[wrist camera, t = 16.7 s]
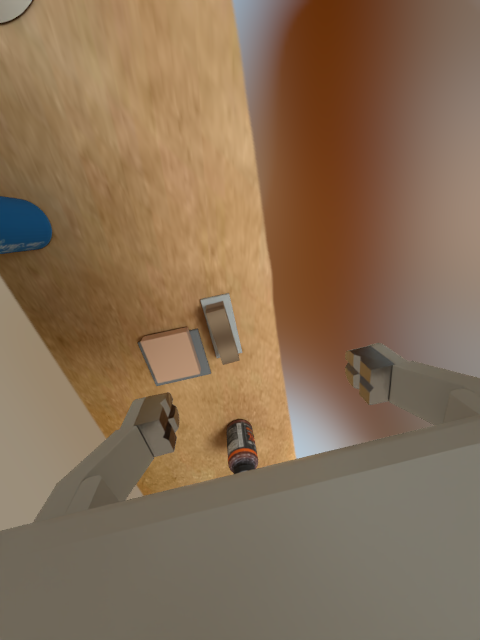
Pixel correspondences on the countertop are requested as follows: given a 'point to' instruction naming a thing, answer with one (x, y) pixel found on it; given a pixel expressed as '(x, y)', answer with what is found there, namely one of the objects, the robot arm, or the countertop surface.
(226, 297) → the pad
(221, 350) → the tall taupe beveled block
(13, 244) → the beverage can
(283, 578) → the robot arm
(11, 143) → the countertop surface
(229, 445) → the supplement bottle
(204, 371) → the mat
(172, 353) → the tile
